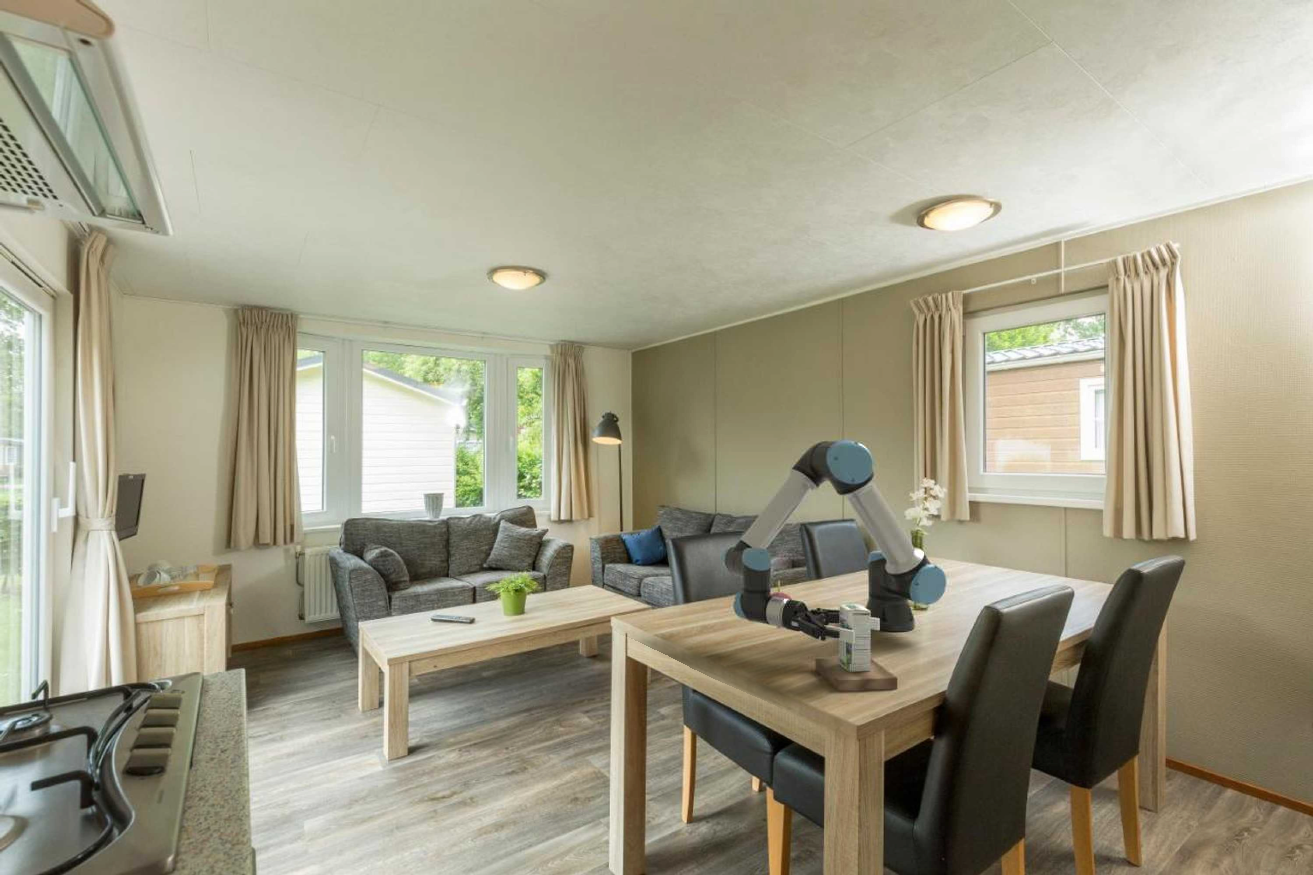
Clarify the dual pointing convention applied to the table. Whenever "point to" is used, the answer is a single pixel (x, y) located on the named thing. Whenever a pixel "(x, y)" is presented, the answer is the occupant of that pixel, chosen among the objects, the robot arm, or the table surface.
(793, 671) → the table surface
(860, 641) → the syrup box
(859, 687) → the walnut board
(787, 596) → the cupcake
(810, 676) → the table surface
